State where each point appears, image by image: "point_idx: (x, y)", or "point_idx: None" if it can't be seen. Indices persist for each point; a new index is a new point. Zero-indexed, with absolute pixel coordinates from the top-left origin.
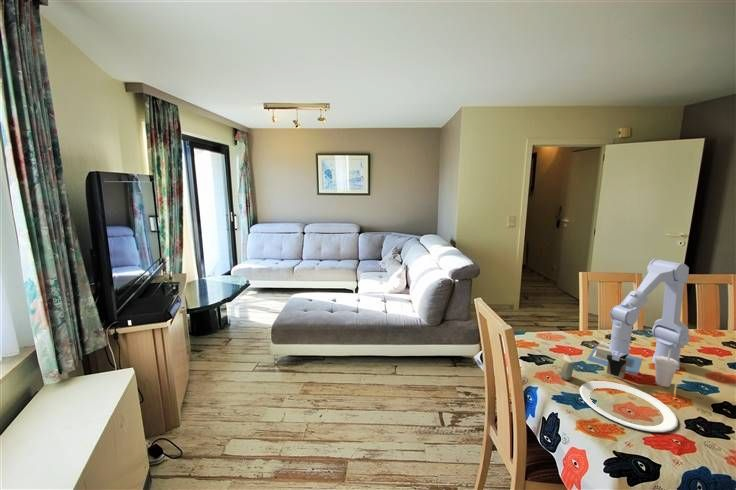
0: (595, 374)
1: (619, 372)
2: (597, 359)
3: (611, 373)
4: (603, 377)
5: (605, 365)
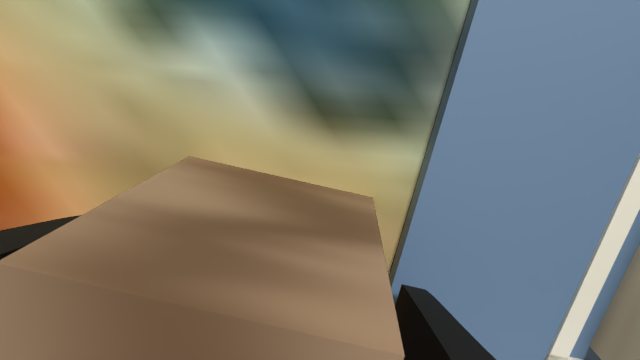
0: (84, 14)
1: None
2: (621, 60)
3: None
4: (70, 113)
5: (430, 166)
